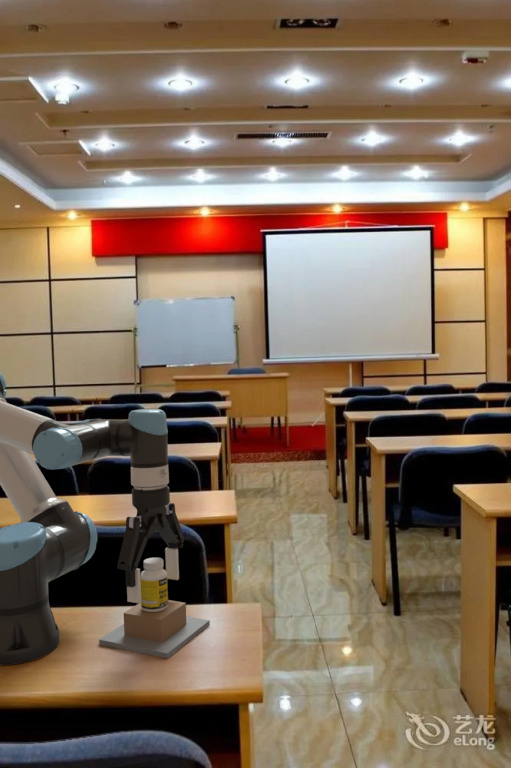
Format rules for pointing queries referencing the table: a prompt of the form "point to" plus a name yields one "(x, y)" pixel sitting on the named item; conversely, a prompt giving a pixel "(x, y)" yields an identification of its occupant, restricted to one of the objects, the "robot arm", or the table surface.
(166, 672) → the table surface
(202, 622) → the base
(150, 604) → the supplement bottle
